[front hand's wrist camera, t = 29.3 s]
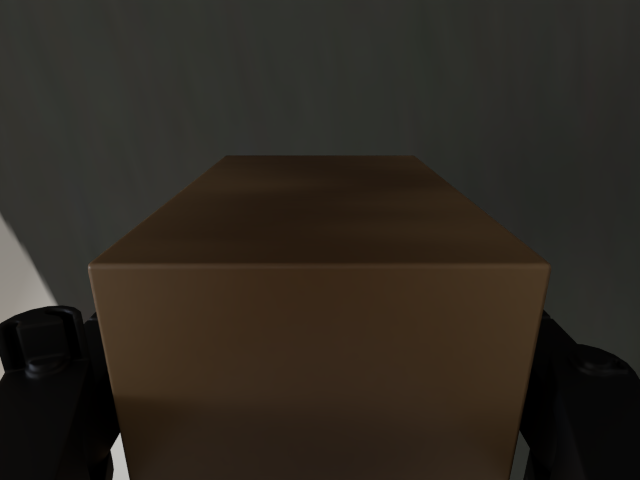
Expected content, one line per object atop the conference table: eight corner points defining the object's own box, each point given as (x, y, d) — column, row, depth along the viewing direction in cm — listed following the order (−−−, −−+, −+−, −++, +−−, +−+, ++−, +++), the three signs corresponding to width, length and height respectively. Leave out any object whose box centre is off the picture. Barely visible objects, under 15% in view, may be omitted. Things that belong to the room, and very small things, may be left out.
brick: (414, 154, 14) (554, 264, 6) (401, 332, 16) (487, 597, 8) (225, 155, 14) (83, 263, 6) (238, 332, 16) (151, 597, 8)
